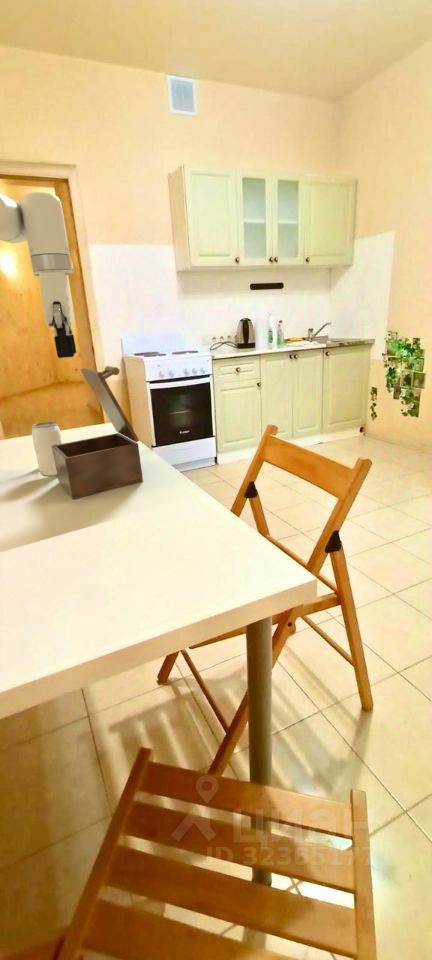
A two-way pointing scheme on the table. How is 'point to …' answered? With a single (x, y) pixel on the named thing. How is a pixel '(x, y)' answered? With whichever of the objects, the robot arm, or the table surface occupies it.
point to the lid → (109, 400)
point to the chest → (97, 464)
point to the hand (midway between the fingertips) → (67, 355)
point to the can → (46, 446)
